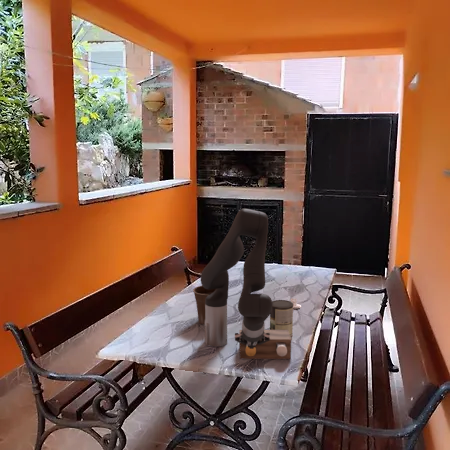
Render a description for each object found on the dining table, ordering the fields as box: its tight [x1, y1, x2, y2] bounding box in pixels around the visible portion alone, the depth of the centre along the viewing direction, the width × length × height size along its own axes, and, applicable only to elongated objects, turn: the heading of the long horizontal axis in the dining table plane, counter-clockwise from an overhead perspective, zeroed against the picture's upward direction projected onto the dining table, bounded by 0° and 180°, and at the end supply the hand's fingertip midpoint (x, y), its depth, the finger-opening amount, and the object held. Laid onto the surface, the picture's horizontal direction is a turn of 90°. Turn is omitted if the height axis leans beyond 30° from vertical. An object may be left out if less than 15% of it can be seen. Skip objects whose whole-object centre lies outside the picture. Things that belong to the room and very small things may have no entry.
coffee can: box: [269, 299, 294, 337], centre depth 214 cm, size 10×10×14 cm
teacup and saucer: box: [290, 298, 302, 310], centre depth 252 cm, size 9×8×4 cm
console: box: [238, 329, 292, 360], centre depth 194 cm, size 10×20×8 cm, turn 90°
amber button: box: [245, 344, 256, 356], centre depth 188 cm, size 6×4×4 cm, turn 0°
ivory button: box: [276, 342, 287, 356], centre depth 188 cm, size 6×4×4 cm, turn 0°
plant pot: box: [192, 285, 216, 326], centre depth 229 cm, size 16×16×16 cm
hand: (251, 346), depth 177 cm, fingers closed
